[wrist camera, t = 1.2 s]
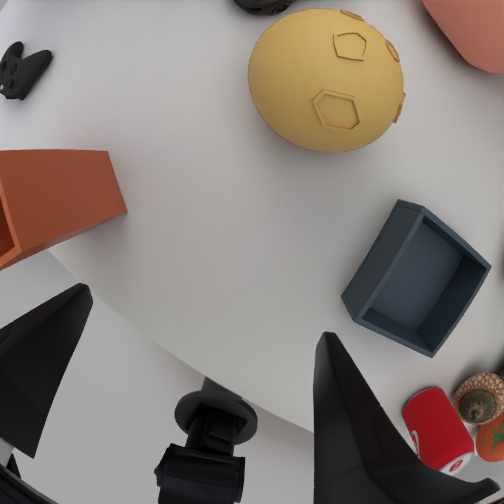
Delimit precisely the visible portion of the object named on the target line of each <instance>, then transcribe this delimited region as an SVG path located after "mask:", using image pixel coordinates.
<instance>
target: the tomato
mask: <svg viewBox="0 0 504 504" xmlns="http://www.w3.org/2000/svg"><path fill="white" fill-rule="evenodd" d="M476 450H477V453H478V454H479V456H480V457H481V458H482V459H483V460H485V461H488V462H497V461H501V460H503V459H504V409H503V411H502V412H501V413H500V414H499V415H498V417H496V418H495V419H494V420H492V421H490V422H488V423H486V424H483V425H481V427H480V428H479V431H478V433H477V437H476Z"/></svg>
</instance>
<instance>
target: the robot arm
mask: <svg viewBox="0 0 504 504" xmlns="http://www.w3.org/2000/svg"><path fill="white" fill-rule="evenodd" d="M92 305H93V299H92V296H91V292H90V289H89V286H88V285H86V284H82V283H78V284H76V285H74V286H73V287H71V288H69V289H67V290H65V291H64V292H62V293H60V294H59V295H57V296H55V297H53V298H51V299H50V300H48V301H46V302H44V303H43V304H41V305H39V306H38V307H36V308H34V309H33V310H31V311H29V312H27V313H26V314H24V315H22V316H21V317H19V318H18V319H16V320H14V321H13V322H11V323H9V324H8V325H6V326H4V327H3V328H1V329H0V504H58V503H57V502H55V501H53V500H52V499H50V498H48V497H47V496H45V495H43V494H42V493H40V492H39V491H37V490H36V489H34V488H32V487H31V486H30V485H28V484H27V483H26V482H24V481H23V480H21V476H20V473H19V470H18V467H17V464H16V461H15V458H14V455H13V454H12V451H13V448H14V447H15V448H17V449H18V450H20V451H21V452H23V453H24V454H26V455H28V456H29V457H31V458H34V457H35V454H36V450H37V447H38V443H39V440H40V437H41V434H42V431H43V428H44V425H45V422H46V418H47V416H48V413H49V410H50V408H51V405H52V402H53V400H54V397H55V395H56V392H57V389H58V387H59V385H60V382H61V380H62V377H63V375H64V373H65V370H66V368H67V365H68V363H69V361H70V358H71V357H72V354H73V352H74V350H75V348H76V346H77V344H78V341H79V339H80V337H81V335H82V332H83V329H84V327H85V324H86V321H87V318H88V316H89V313H90V311H91V308H92ZM313 404H314V487H315V488H314V503H313V504H479V501H481V500H483V499H484V498H486V497H488V496H490V495H492V494H494V493H496V492H497V491H499V490H500V486H499V485H498V484H497V483H496V482H495V481H493V480H492V479H490V478H486V479H484V480H482V481H479V482H476V483H471V482H466V481H463V480H460V479H458V478H455V477H453V476H450V475H448V474H445V473H443V472H441V471H438V470H436V469H434V468H431V467H429V466H428V465H426V464H425V463H423V462H422V461H421V460H420V459H419V458H418V457H417V455H416V454H415V453H414V452H413V450H412V449H411V448H410V446H409V445H408V444H407V443H406V441H405V440H404V439H403V437H402V436H401V435H400V433H399V432H398V431H397V429H396V428H395V427H394V425H393V424H392V422H391V421H390V419H389V418H388V416H387V414H386V413H385V411H384V410H383V408H382V407H381V406H380V403H379V402H378V400H377V398H376V397H375V395H374V393H373V392H372V390H371V389H370V387H369V385H368V384H367V382H366V381H365V379H364V377H363V376H362V374H361V373H360V371H359V369H358V368H357V366H356V365H355V363H354V362H353V360H352V358H351V357H350V355H349V354H348V352H347V350H346V349H345V347H344V346H343V344H342V343H341V341H340V340H339V338H338V336H337V335H336V334H335V333H334V332H323V334H322V336H321V338H320V340H319V342H318V344H317V347H316V355H315V369H314V382H313ZM247 422H248V421H247V420H246V419H244V418H241V417H238V416H236V415H233V414H230V413H228V412H225V411H223V410H220V409H218V408H215V407H213V406H210V405H208V404H205V403H202V402H201V403H199V404H198V406H197V407H196V409H195V410H194V412H193V413H192V415H191V416H190V418H189V419H188V421H187V422H186V424H185V426H184V428H185V429H186V430H188V431H189V435H188V438H187V441H186V445H185V447H182V446H178V445H176V444H173V443H171V444H170V446H169V448H167V449H166V451H165V453H164V455H163V457H162V459H161V461H160V463H159V465H158V466H157V467H156V468H155V470H154V474H155V475H156V476H157V486H158V487H160V492H159V498H158V504H234V502H236V503H240V501H241V497H242V492H243V485H244V473H245V457H235V456H233V451H234V445H235V438H236V436H237V435H238V434H239V433H240V431H241V430H242V429H243V428H244V427H245V426H246V425H247ZM489 504H504V497H502V498H500V499H498V500H496V501H493V502H491V503H489Z"/></svg>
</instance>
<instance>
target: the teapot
mask: <svg viewBox="0 0 504 504" xmlns="http://www.w3.org/2000/svg"><path fill="white" fill-rule="evenodd" d="M422 2H423V4H424V6H425V8H426V9H427V10H428V12H429V13H430V15H431V16H432V17H433V19H434V20H435V22H436V23H437V24H438V26H439V27H440V28H441V30H442V31H443V32H444V34H445V35H446V36H447V38H448V39H449V40H450V41H451V43H452V44H453V45H454V47H455V48H456V49H457V50H458V52H459V53H460V54H461V55H462V57H463V58H464V59H465V60H466V61H467V62H468V63H470V64H471V65H473V66H475V67H477V68H479V69H481V70H484V71H487V72H491V73H504V0H422Z"/></svg>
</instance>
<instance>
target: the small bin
mask: <svg viewBox="0 0 504 504" xmlns="http://www.w3.org/2000/svg"><path fill="white" fill-rule="evenodd" d="M125 212H127V209H126V207H125V204H124V201H123V198H122V195H121V192H120V189H119V187H118V184H117V181H116V178H115V174H114V171H113V168H112V165H111V162H110V159H109V155H108V152H107V151H96V150H63V149H36V150H5V151H0V271H1V270H3V269H5V268H7V267H9V266H11V265H13V264H15V263H17V262H19V261H21V260H23V259H25V258H27V257H29V256H32V255H34V254H36V253H38V252H40V251H42V250H45V249H47V248H49V247H51V246H54V245H56V244H58V243H61V242H63V241H65V240H68V239H70V238H72V237H75V236H77V235H79V234H82V233H84V232H86V231H88V230H90V229H92V228H94V227H96V226H98V225H100V224H102V223H104V222H106V221H108V220H110V219H113V218H115V217H117V216H119V215H121V214H123V213H125Z"/></svg>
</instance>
